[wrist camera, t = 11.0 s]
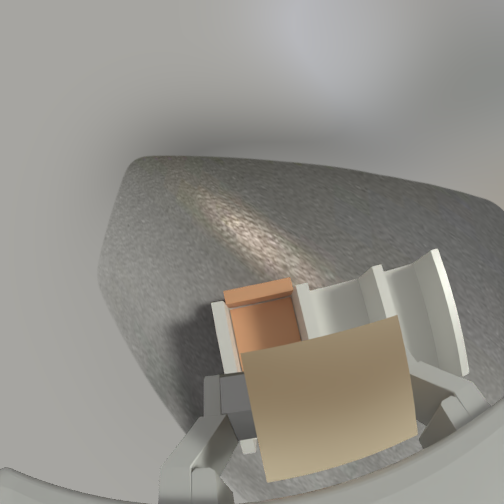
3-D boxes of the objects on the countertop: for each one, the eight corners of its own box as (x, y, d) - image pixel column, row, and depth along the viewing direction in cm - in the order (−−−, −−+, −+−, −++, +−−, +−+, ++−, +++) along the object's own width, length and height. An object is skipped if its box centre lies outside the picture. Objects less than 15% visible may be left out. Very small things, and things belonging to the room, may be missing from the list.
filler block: (328, 393, 13) (417, 434, 5) (261, 408, 13) (266, 482, 4) (317, 339, 14) (397, 314, 6) (250, 353, 14) (240, 353, 5)
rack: (442, 372, 24) (469, 372, 19) (246, 437, 23) (243, 454, 18) (411, 254, 29) (433, 237, 24) (217, 300, 28) (208, 288, 23)
